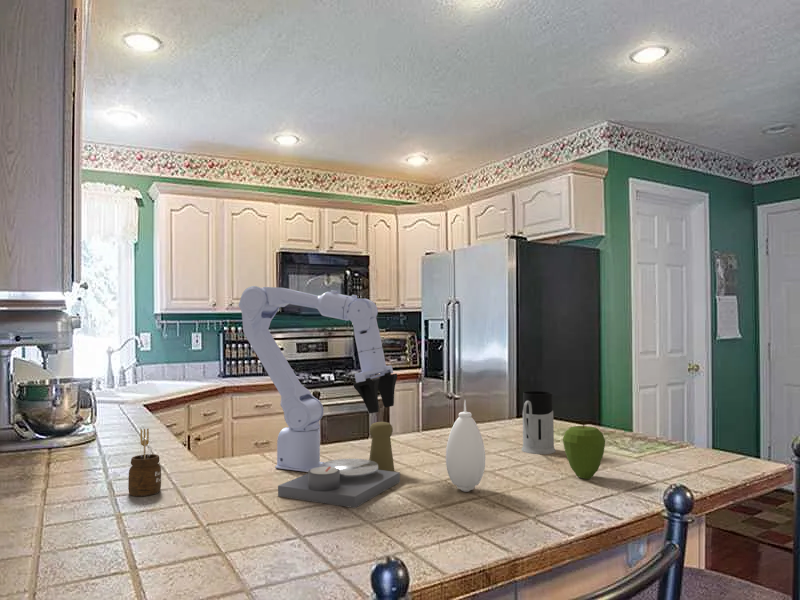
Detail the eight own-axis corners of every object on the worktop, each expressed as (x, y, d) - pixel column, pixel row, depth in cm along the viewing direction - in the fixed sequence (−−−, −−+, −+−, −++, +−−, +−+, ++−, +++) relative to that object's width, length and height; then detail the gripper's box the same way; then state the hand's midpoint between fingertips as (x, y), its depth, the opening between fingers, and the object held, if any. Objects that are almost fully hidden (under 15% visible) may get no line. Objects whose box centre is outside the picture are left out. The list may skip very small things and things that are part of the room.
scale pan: (308, 473, 117) (308, 468, 117) (339, 461, 128) (339, 456, 128) (360, 480, 112) (360, 475, 112) (388, 466, 123) (388, 461, 123)
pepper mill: (391, 475, 127) (391, 425, 127) (364, 474, 128) (364, 424, 129) (397, 469, 133) (396, 420, 133) (371, 467, 134) (371, 419, 134)
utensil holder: (129, 498, 111) (130, 435, 111) (127, 490, 116) (128, 430, 117) (162, 494, 113) (163, 432, 114) (159, 486, 119) (160, 427, 119)
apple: (607, 474, 127) (606, 421, 128) (603, 484, 119) (602, 427, 120) (566, 470, 131) (566, 419, 131) (560, 479, 123) (559, 425, 124)
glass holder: (560, 449, 153) (559, 392, 154) (542, 459, 141) (541, 397, 142) (528, 445, 158) (527, 390, 159) (508, 455, 146) (507, 395, 147)
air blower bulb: (488, 486, 118) (488, 397, 119) (481, 497, 111) (480, 402, 111) (451, 483, 121) (450, 396, 121) (441, 493, 113) (441, 400, 114)
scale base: (277, 496, 112) (278, 468, 112) (330, 473, 129) (330, 449, 129) (354, 507, 105) (354, 477, 105) (399, 481, 122) (399, 456, 122)
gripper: (370, 349, 124) (382, 413, 123) (399, 344, 137) (410, 401, 136) (342, 355, 127) (354, 417, 126) (373, 349, 140) (384, 405, 139)
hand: (381, 409), depth 131 cm, fingers open, 7 cm apart
